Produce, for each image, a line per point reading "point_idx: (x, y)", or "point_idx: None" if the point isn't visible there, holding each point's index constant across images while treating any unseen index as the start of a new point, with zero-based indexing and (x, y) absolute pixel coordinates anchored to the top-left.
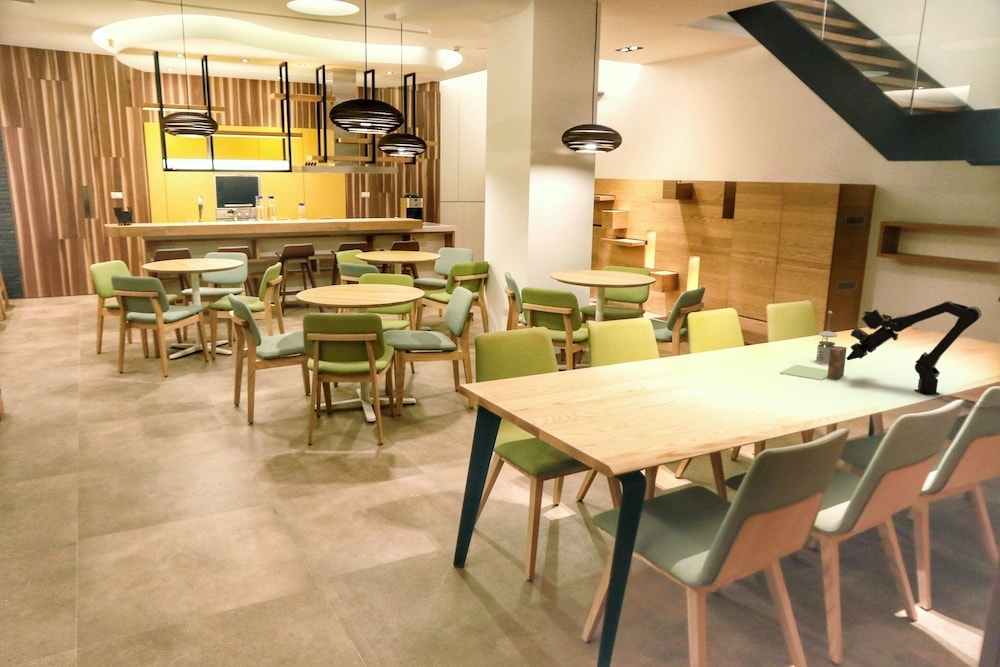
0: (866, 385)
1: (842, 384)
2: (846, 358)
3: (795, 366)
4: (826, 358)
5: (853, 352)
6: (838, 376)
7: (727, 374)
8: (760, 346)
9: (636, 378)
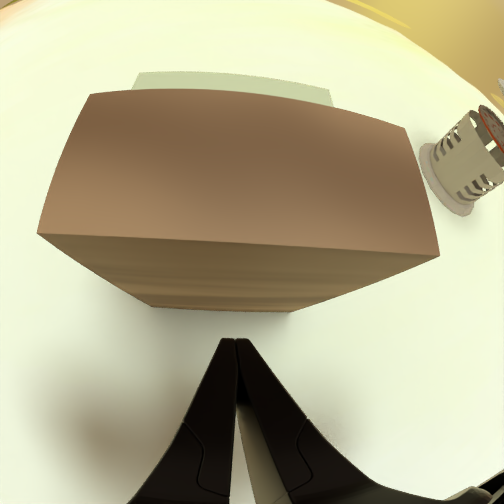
0: (148, 472)
1: (69, 356)
2: (220, 341)
3: (296, 88)
4: (450, 169)
5: (166, 475)
6: (174, 306)
7: (65, 34)
8: (423, 52)
9: (13, 22)
